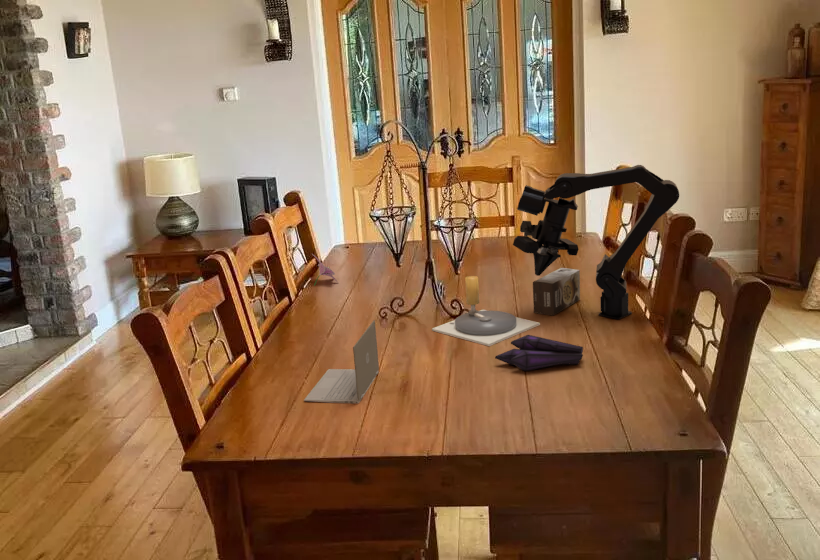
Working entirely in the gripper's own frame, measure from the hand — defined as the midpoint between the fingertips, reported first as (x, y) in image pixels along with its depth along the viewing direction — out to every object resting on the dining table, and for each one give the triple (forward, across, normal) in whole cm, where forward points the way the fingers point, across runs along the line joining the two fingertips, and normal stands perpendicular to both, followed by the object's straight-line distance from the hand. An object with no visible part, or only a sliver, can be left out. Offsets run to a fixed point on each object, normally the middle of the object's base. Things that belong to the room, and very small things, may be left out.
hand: (537, 275), depth 222 cm
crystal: (+10, +21, +31) cm, 39 cm away
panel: (+14, +14, +3) cm, 21 cm away
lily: (+34, +24, -67) cm, 79 cm away
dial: (+14, +14, +3) cm, 21 cm away
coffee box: (+4, -17, -3) cm, 18 cm away
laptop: (+23, +61, +14) cm, 67 cm away
